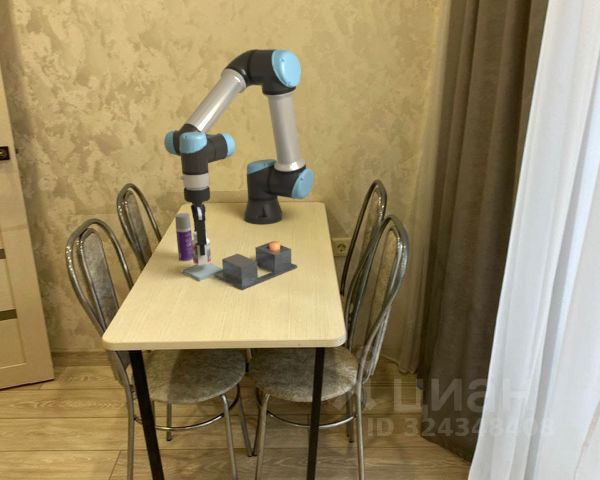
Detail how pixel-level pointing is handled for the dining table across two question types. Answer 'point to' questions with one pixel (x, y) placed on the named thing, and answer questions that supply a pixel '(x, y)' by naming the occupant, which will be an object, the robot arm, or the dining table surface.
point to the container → (184, 237)
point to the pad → (202, 271)
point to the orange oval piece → (274, 245)
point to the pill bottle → (195, 252)
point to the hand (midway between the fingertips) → (202, 260)
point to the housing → (255, 266)
